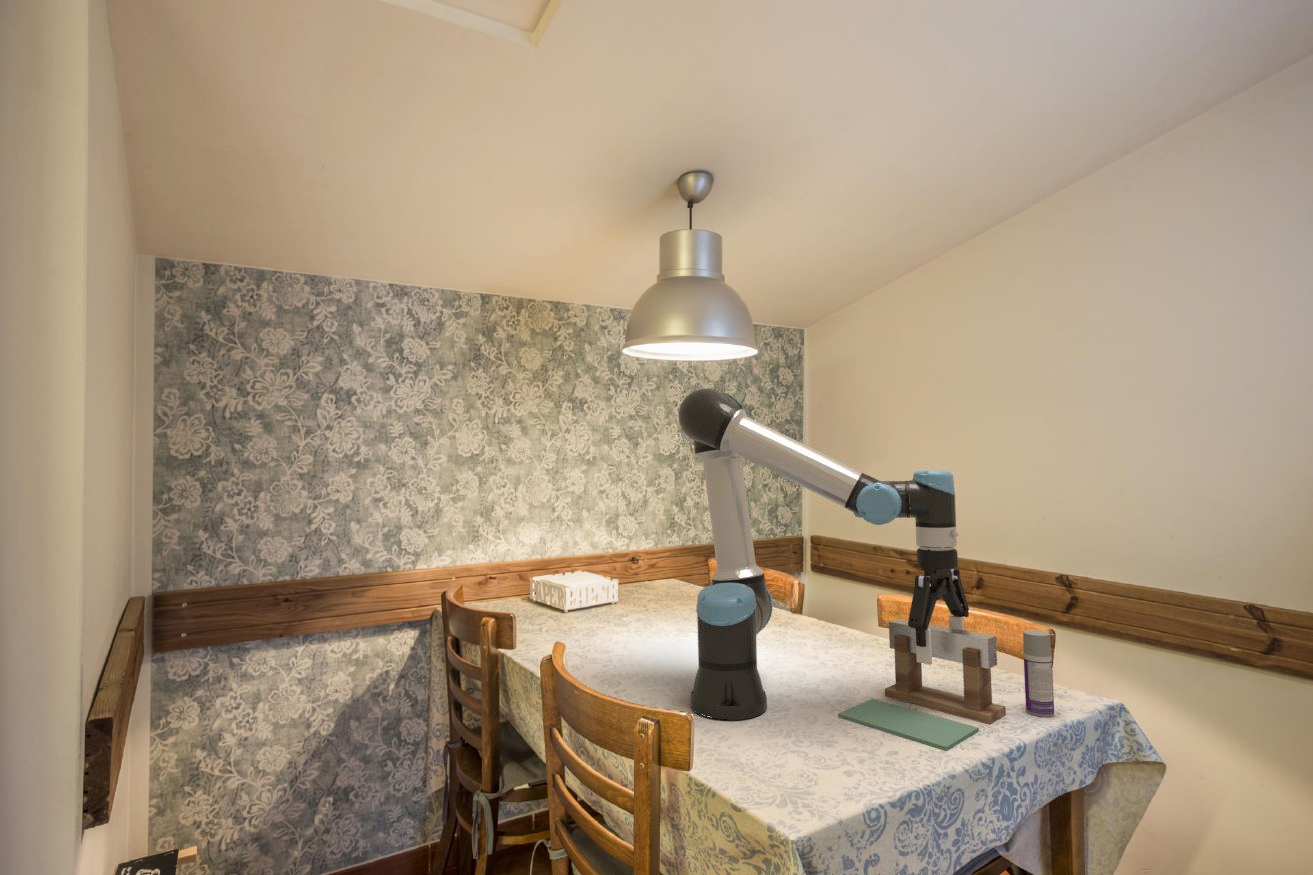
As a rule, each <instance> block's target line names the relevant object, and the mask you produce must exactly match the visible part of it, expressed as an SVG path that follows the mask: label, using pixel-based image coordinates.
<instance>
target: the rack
mask: <svg viewBox="0 0 1313 875" xmlns="http://www.w3.org/2000/svg"><path fill="white" fill-rule="evenodd" d="M893 650H894V669H895V672H894V673H895V683H894V684H892V685H890V686H887V687H885V688H884V696H885V697H888V698H890V699H891V698H892V699H895V700H899V701H902V702H906V703H910V704H913V705H917V706H921V707H924V708H928V709H932V710H935V711H939V712H943V713H946V714H951V715H954V716H958V717H961V718H965V719H969V720H971V721H976V722H979V723H983V724H987V725H991V724H994V723H995V722H996V721H998V720H999V719H1001V718H1002V717H1004V716H1006V715H1007V713H1006V712H1007V710H1006V706H1005V705H1001V704H997V703H993V696H992V695H993V693H992V692H993V691H992V689H993V688H992V672H991V671H992V670H991V669H992V668H990V669H987V668H982V667H979V661H978V651H976V650H971V649H965V648H964V649H962V656H963V663H962V676H963V678H962V679H963V695H961V694H956V693H954V692H953V693H952V692H948V691H944V690H941V689H937V688H932V687H928V686H924V685H923V673H922V672H923V671H922V663H919V662H917V657H916V653H911V652H908V637H903V636H898V635H895V636H894V649H893Z"/></svg>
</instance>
